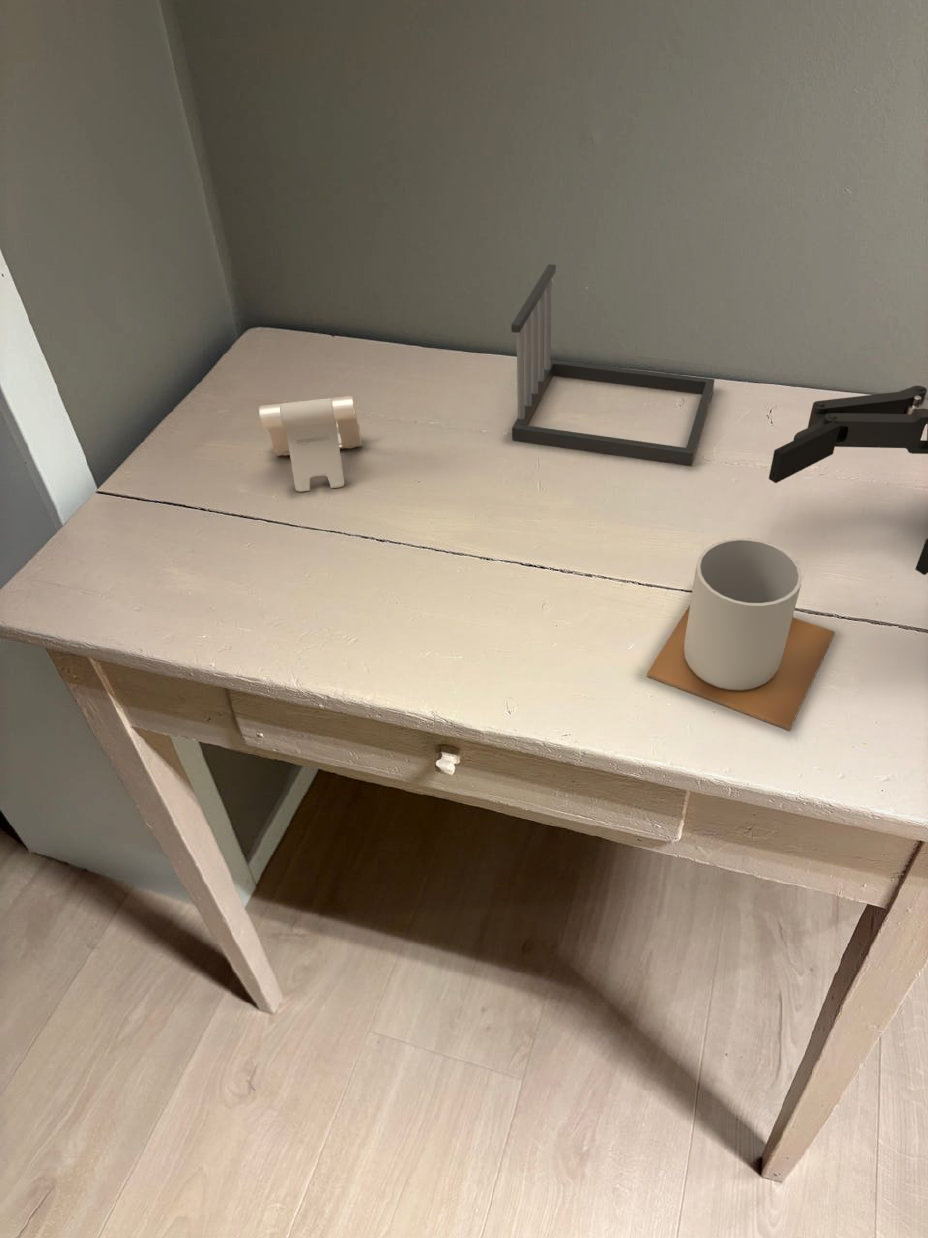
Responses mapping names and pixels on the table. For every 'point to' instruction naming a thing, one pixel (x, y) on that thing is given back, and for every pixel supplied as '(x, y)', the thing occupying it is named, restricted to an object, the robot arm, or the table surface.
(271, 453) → the table surface
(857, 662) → the table surface
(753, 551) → the cup
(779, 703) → the cork pad
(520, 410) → the dish rack
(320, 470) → the tablet stand
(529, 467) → the table surface
